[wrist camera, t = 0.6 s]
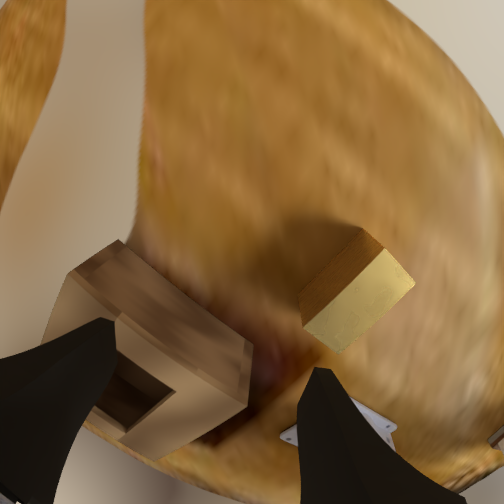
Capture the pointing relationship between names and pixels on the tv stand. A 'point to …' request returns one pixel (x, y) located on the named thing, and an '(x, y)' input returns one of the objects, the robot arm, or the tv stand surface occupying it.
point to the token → (352, 292)
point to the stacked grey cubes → (498, 440)
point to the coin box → (154, 354)
